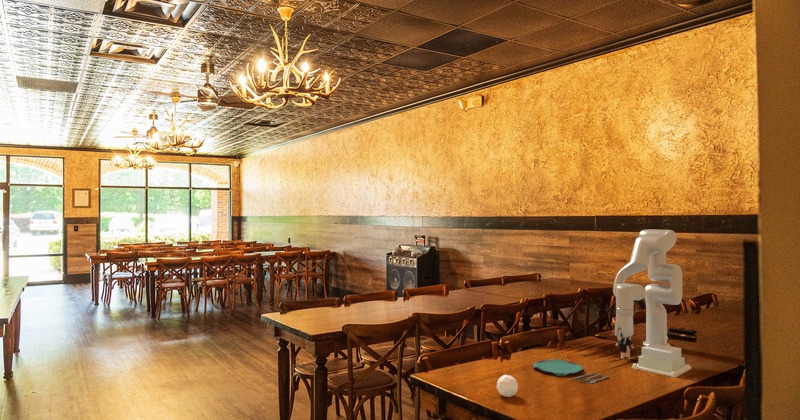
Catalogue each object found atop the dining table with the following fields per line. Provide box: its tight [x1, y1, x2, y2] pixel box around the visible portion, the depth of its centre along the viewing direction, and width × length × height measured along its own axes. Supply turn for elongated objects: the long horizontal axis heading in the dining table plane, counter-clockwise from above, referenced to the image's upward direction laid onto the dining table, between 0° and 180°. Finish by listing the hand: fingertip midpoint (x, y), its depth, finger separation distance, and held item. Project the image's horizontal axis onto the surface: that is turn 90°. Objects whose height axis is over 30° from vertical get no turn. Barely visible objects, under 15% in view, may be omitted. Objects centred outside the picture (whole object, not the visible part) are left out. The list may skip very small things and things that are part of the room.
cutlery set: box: [532, 358, 610, 385], centre depth 222 cm, size 20×30×2 cm, turn 35°
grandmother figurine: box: [615, 336, 635, 360], centre depth 245 cm, size 8×4×13 cm, turn 76°
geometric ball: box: [496, 374, 519, 398], centre depth 193 cm, size 8×8×8 cm
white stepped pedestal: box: [631, 343, 692, 378], centre depth 229 cm, size 18×18×9 cm
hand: (624, 350), depth 245 cm, fingers open, 3 cm apart
